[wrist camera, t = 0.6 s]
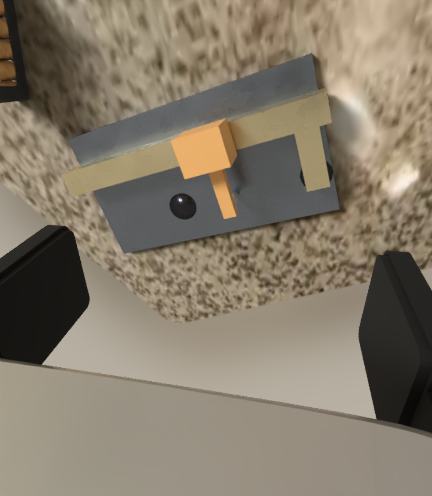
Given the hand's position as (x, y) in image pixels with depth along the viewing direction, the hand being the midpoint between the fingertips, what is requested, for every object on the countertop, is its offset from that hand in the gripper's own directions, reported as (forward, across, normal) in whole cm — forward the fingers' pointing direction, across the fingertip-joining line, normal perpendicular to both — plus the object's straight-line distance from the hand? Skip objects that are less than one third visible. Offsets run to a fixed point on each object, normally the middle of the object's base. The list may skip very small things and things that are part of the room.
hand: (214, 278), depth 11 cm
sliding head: (+24, +4, +3) cm, 25 cm away
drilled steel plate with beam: (+26, +7, +4) cm, 27 cm away
